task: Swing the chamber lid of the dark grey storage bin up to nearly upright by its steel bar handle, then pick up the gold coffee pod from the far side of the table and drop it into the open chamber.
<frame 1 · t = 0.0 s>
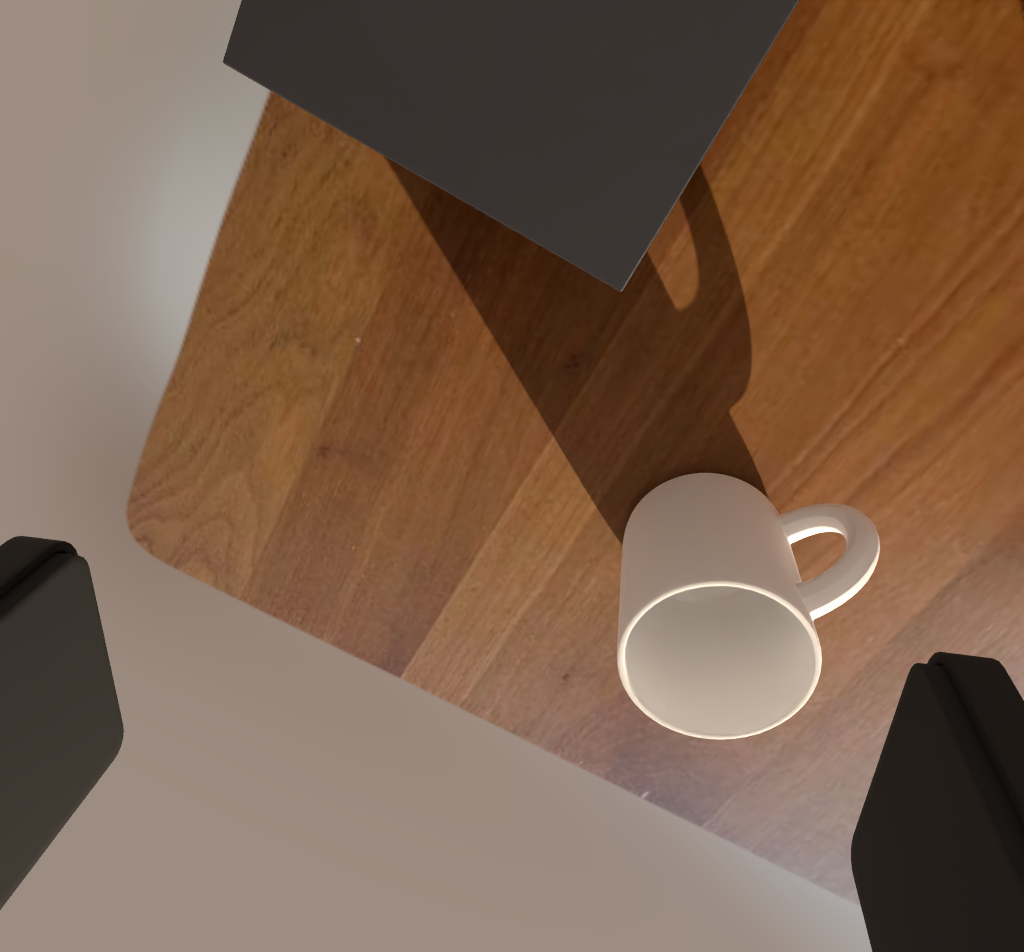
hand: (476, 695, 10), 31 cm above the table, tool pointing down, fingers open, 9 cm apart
mug: (735, 522, 43), on the table
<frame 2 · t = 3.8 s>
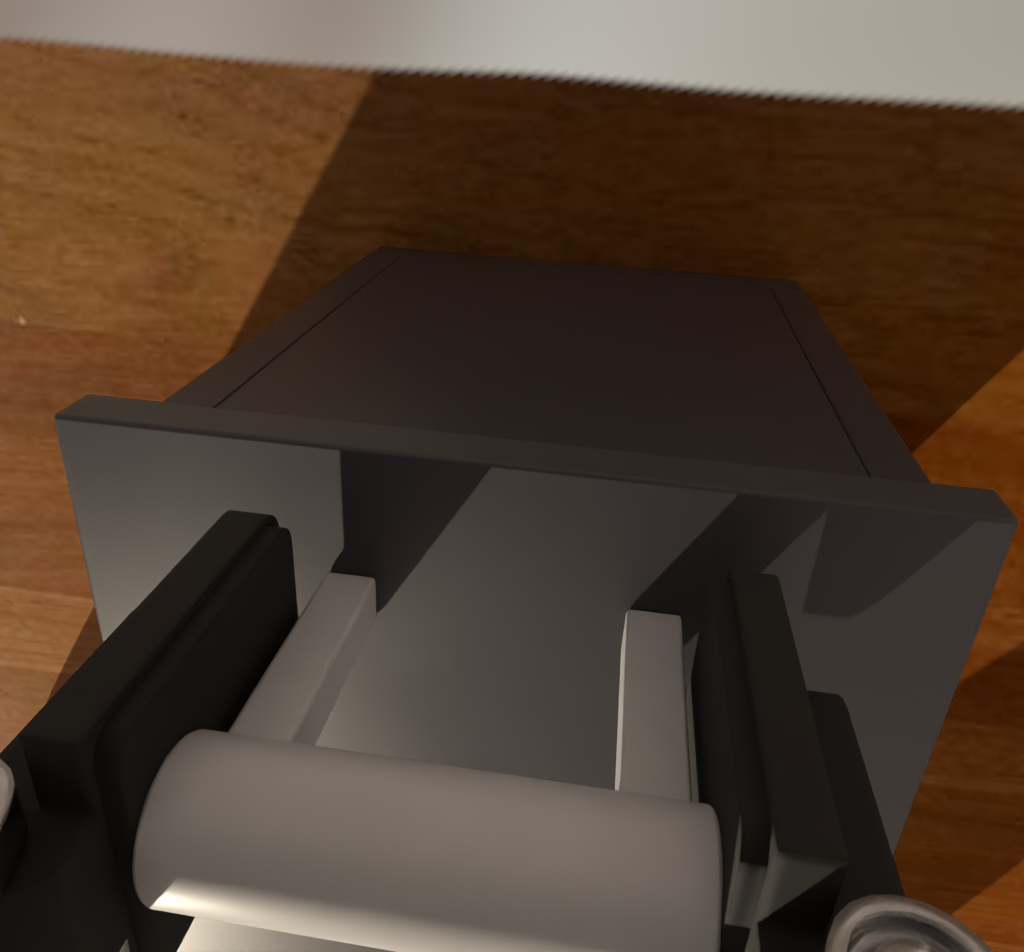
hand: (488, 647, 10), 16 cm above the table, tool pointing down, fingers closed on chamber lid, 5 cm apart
chamber lid: (463, 944, 11), point 17 cm above the table, hinge at 0.0°, touching gripper
dark grey storage bin: (566, 452, 26), on the table
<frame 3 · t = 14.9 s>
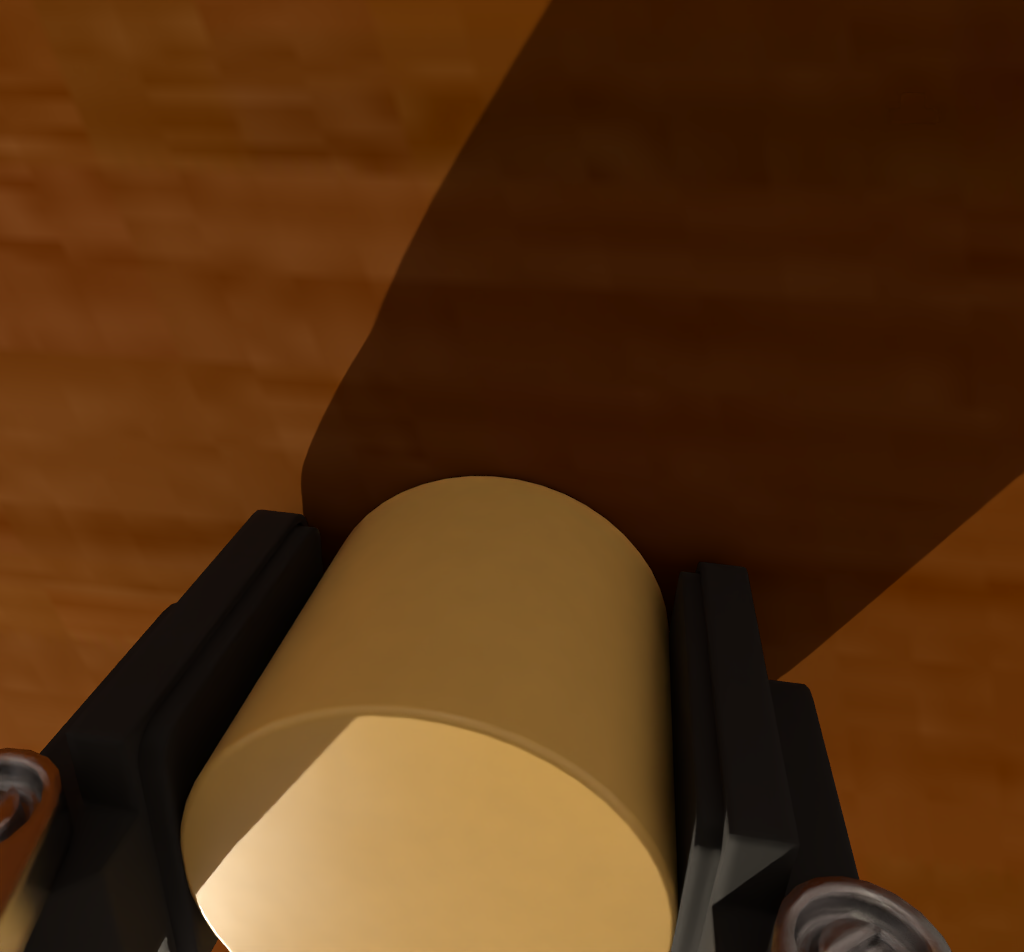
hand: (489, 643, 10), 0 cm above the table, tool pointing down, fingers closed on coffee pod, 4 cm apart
coffee pod: (494, 626, 11), on the table, touching gripper
when the fingers open (13 cm above the table, at t = 23.7 s): coffee pod drops 12 cm, resting on dark grey storage bin.
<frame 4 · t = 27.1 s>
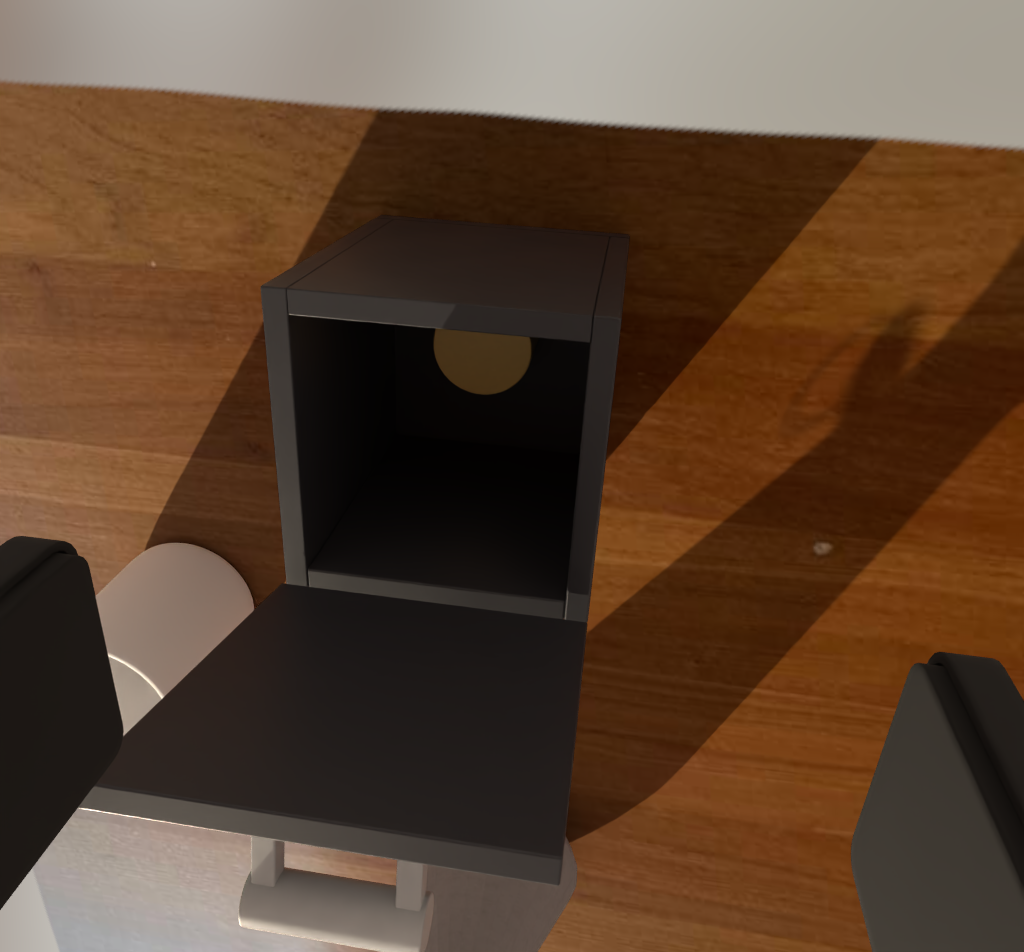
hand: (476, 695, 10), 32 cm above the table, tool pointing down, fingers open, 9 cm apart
chamber lid: (382, 761, 26), point 21 cm above the table, hinge at 78.4°
dark grey storage bin: (497, 345, 42), on the table
mug: (222, 609, 52), on the table
coffee pod: (496, 322, 40), point 1 cm above the table, touching dark grey storage bin
coffee pot: (442, 850, 59), on the table
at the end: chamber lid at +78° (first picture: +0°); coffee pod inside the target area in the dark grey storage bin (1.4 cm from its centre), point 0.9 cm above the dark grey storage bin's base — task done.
